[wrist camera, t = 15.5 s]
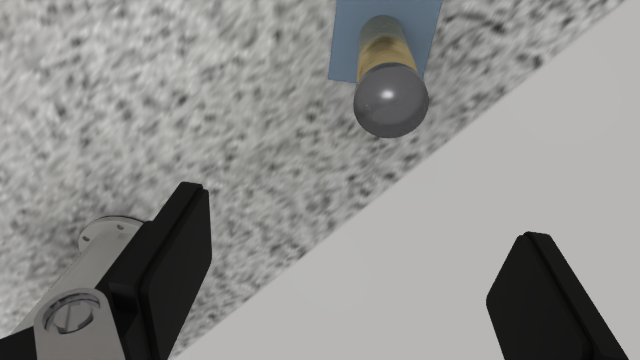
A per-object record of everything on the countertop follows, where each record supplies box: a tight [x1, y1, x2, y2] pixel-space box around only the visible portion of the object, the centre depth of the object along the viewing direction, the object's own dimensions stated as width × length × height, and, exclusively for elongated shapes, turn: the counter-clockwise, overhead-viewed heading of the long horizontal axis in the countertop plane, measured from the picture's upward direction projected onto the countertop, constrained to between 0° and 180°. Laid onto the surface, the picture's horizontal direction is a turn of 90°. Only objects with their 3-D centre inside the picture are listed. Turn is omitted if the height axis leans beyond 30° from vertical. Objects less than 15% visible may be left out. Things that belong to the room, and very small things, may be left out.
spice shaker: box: [354, 15, 429, 138], centre depth 26 cm, size 4×4×14 cm
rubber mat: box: [328, 0, 442, 83], centre depth 32 cm, size 8×8×1 cm
